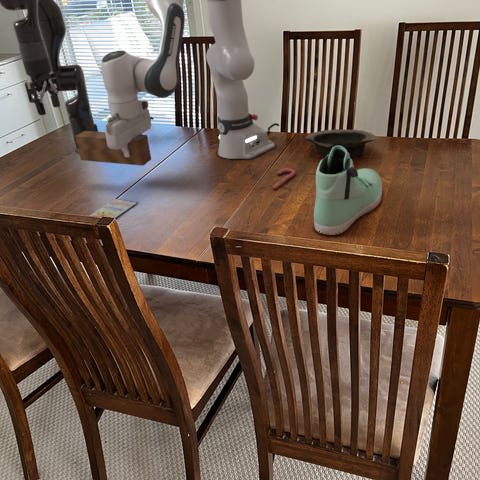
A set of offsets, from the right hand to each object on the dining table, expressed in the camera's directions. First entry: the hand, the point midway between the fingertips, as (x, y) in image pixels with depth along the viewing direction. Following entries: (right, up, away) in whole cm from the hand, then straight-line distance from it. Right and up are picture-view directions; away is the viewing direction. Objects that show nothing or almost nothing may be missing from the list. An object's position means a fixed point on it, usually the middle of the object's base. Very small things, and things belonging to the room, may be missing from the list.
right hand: (133, 152), depth 152 cm
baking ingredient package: (-6, -19, -4) cm, 21 cm away
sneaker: (+65, -19, -13) cm, 69 cm away
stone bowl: (+70, +3, +22) cm, 73 cm away
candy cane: (+47, -8, +7) cm, 49 cm away
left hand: (-27, +13, 0) cm, 30 cm away
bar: (-7, -2, +4) cm, 8 cm away
